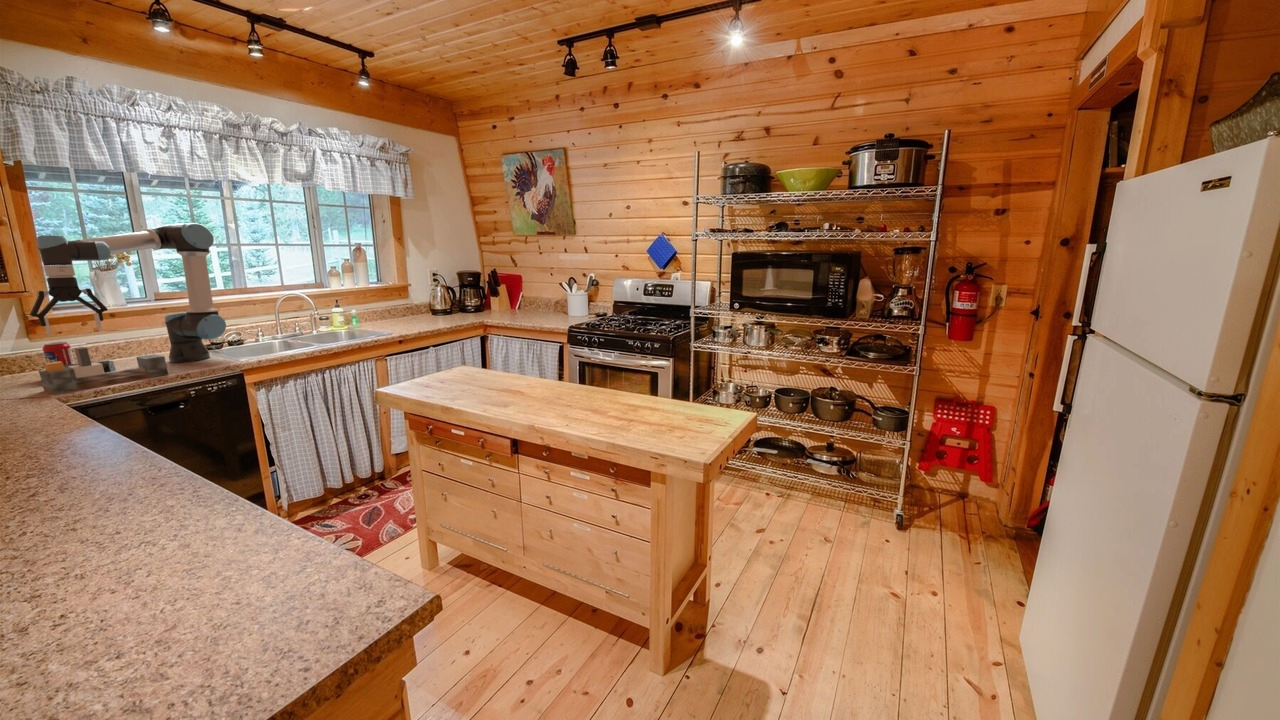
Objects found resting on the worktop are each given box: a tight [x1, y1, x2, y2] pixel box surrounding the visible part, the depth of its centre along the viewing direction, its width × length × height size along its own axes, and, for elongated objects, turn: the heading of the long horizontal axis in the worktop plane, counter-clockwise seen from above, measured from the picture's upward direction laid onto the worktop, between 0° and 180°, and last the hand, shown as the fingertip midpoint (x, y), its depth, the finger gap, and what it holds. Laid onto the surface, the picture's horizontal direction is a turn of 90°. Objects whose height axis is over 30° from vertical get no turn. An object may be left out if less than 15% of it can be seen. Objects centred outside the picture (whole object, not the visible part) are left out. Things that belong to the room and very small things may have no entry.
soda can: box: [42, 341, 76, 365], centre depth 217 cm, size 8×8×15 cm
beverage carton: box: [64, 359, 117, 373], centre depth 215 cm, size 8×19×7 cm, turn 125°
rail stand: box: [38, 353, 169, 396], centre depth 206 cm, size 34×11×8 cm, turn 150°
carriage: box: [68, 346, 105, 378], centre depth 200 cm, size 8×7×11 cm
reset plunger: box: [44, 361, 65, 372], centre depth 194 cm, size 4×4×4 cm
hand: (75, 332), depth 198 cm, fingers open, 13 cm apart
